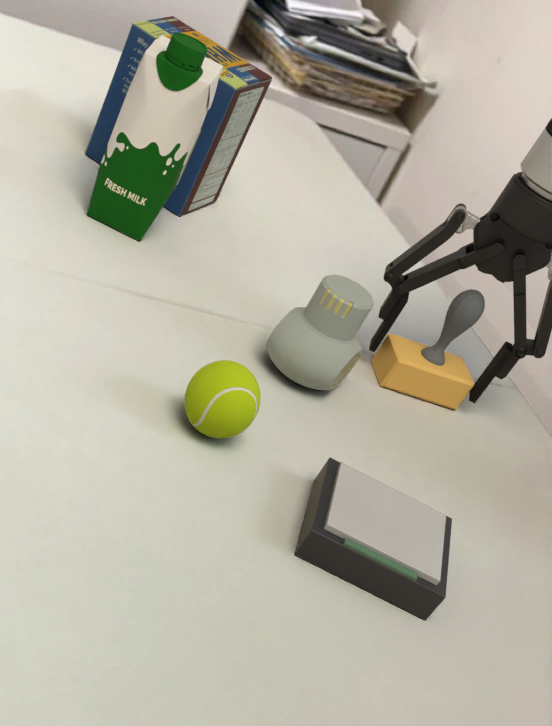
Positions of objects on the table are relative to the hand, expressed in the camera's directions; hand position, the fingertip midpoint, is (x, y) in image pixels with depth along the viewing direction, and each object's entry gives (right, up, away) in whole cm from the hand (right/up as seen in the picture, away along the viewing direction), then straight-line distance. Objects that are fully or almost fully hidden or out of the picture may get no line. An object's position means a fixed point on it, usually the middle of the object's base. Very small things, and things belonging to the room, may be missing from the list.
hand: (422, 371), depth 124 cm
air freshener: (-15, -2, -5) cm, 17 cm away
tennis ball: (-28, -12, -19) cm, 36 cm away
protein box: (-29, +29, +15) cm, 44 cm away
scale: (-14, -24, -23) cm, 36 cm away
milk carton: (-34, +19, +5) cm, 39 cm away
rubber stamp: (-1, -1, +1) cm, 2 cm away
